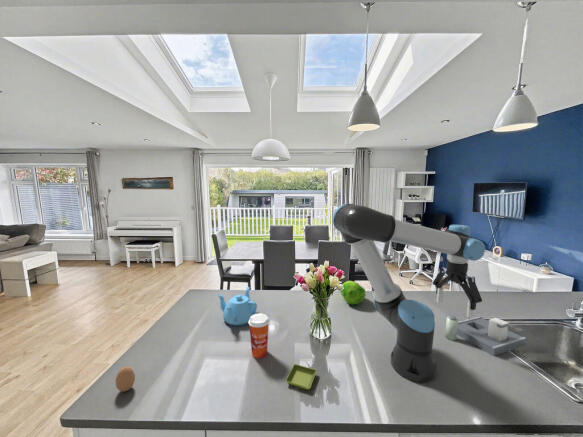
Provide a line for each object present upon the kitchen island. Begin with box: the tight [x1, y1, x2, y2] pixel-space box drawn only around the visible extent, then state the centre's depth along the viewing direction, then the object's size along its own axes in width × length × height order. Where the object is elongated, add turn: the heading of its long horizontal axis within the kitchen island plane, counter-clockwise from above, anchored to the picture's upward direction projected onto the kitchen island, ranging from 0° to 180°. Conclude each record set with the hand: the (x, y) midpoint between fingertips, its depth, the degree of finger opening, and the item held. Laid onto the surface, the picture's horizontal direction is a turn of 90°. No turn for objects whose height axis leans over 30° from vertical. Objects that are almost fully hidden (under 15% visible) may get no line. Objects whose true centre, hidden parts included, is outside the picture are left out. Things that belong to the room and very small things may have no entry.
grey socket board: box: [456, 316, 527, 357], centre depth 106 cm, size 20×18×3 cm
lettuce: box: [340, 280, 366, 306], centre depth 142 cm, size 14×20×12 cm
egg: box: [115, 366, 136, 393], centre depth 78 cm, size 5×5×8 cm
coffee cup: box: [247, 313, 271, 359], centre depth 95 cm, size 8×8×15 cm
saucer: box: [285, 363, 317, 391], centre depth 83 cm, size 9×9×2 cm
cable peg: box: [444, 315, 459, 341], centre depth 105 cm, size 4×4×10 cm
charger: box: [488, 317, 509, 342], centre depth 102 cm, size 5×4×10 cm
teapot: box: [216, 286, 259, 327], centre depth 122 cm, size 17×19×12 cm
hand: (453, 308), depth 104 cm, fingers open, 13 cm apart
